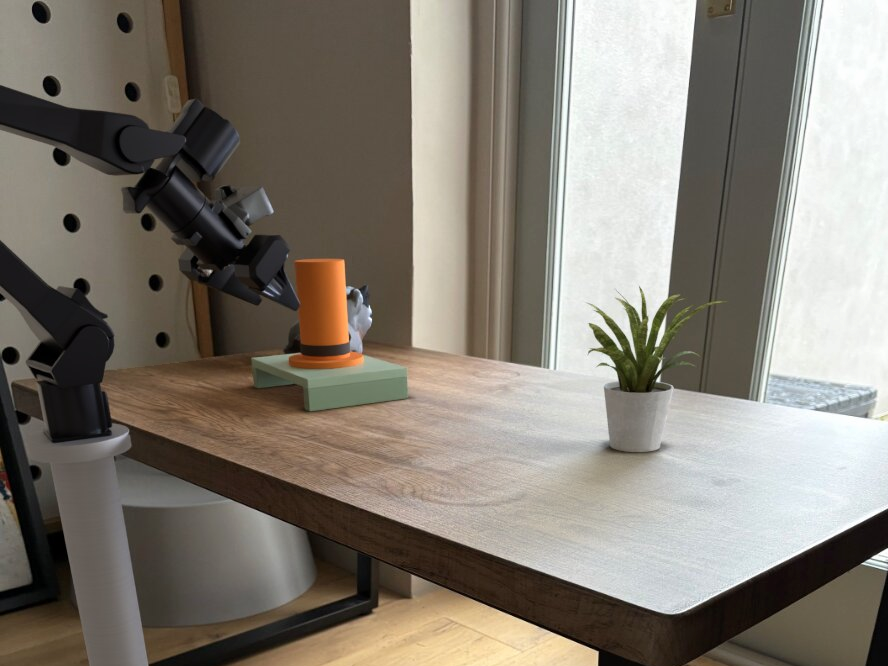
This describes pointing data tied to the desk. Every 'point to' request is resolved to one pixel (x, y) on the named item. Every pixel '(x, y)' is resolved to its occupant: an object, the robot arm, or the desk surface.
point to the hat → (323, 316)
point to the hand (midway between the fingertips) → (278, 305)
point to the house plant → (639, 376)
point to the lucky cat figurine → (356, 321)
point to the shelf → (334, 381)
